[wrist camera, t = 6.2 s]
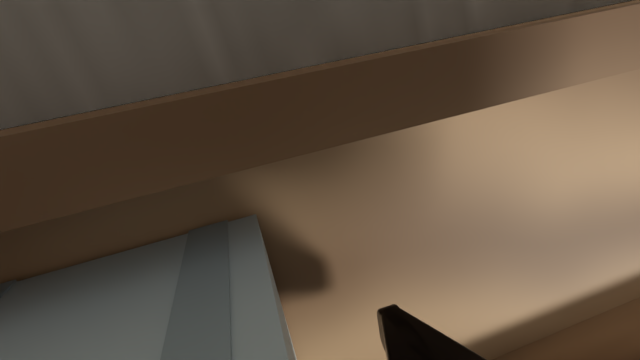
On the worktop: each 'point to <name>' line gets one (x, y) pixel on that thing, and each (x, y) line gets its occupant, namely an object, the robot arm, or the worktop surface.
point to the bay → (380, 188)
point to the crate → (154, 303)
